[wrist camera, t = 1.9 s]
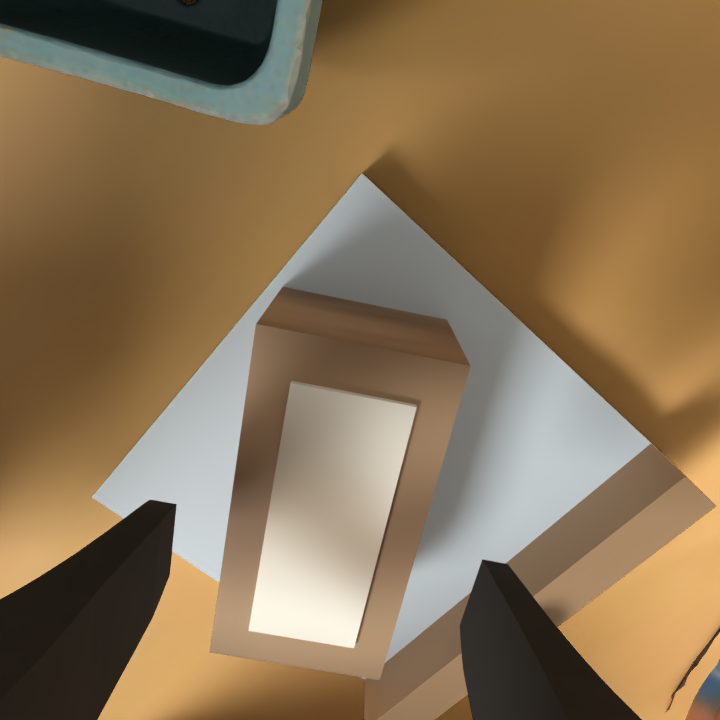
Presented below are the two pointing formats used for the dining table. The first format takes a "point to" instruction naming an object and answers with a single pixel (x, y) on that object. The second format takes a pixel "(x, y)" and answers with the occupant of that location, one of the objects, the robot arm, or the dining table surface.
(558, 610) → the wall panel
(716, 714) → the decorative plaque
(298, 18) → the flower pot
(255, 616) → the frame
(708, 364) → the dining table surface
